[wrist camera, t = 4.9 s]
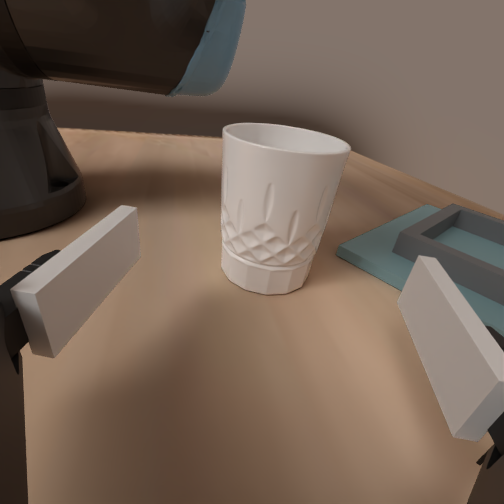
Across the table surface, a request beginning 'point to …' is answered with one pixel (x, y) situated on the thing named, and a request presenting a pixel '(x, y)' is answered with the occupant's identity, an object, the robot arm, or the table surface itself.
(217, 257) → the table surface
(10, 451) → the robot arm
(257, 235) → the white cup
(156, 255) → the table surface
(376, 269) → the glass holder
